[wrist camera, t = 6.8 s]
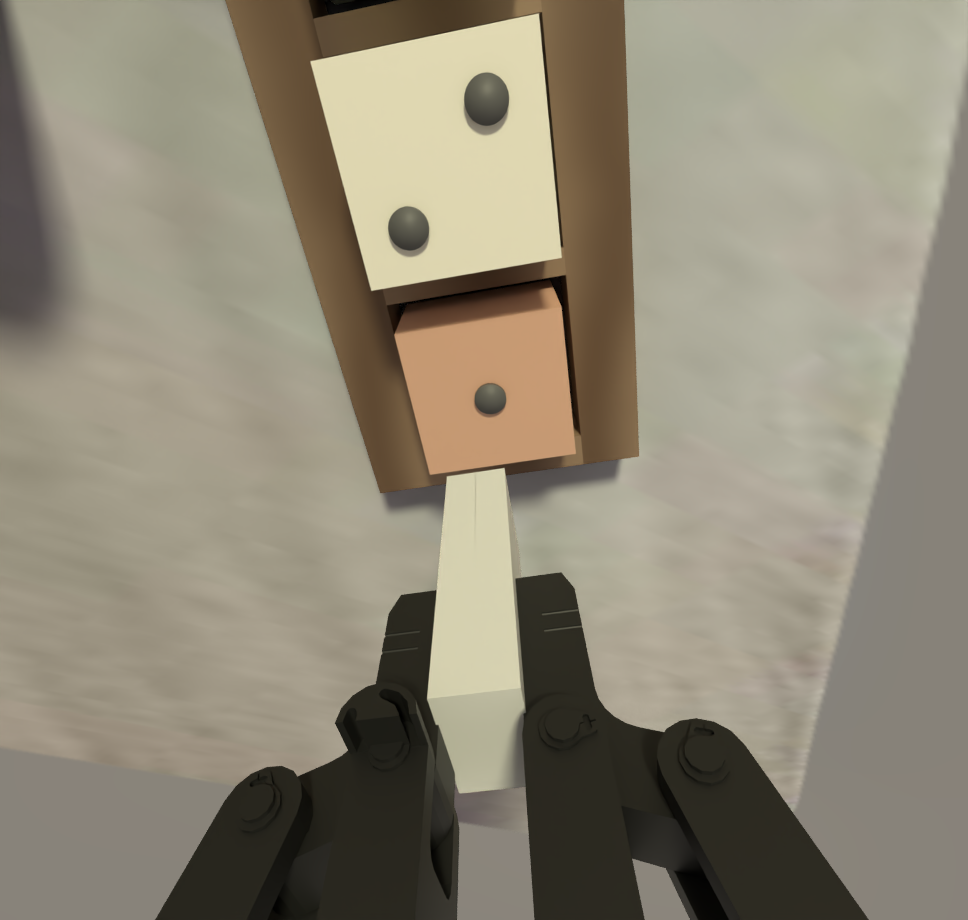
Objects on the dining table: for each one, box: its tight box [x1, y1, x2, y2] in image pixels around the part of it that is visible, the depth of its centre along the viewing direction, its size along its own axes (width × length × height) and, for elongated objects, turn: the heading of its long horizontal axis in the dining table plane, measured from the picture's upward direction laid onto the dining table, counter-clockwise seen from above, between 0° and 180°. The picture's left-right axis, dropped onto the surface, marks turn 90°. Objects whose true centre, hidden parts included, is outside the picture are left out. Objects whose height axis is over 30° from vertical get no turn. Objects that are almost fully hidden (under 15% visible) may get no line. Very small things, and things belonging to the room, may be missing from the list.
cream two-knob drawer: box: [310, 13, 562, 291], centre depth 18 cm, size 6×6×4 cm
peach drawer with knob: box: [394, 280, 576, 475], centre depth 23 cm, size 6×6×4 cm
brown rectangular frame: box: [225, 0, 639, 493], centre depth 21 cm, size 12×26×2 cm, turn 9°
